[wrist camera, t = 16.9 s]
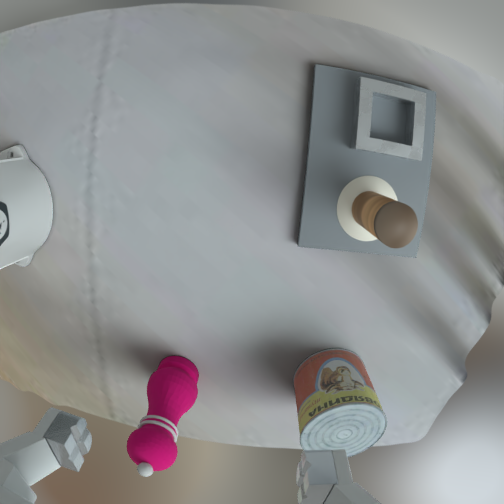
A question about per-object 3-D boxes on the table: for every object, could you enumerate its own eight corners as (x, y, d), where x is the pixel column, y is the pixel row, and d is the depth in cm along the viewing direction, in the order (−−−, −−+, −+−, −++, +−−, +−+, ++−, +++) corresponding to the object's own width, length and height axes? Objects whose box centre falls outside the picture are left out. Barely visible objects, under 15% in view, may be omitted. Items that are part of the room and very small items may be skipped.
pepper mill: (147, 366, 46) (100, 463, 27) (178, 344, 44) (136, 449, 25) (179, 395, 48) (149, 495, 28) (211, 376, 46) (189, 484, 27)
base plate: (297, 244, 40) (298, 247, 38) (314, 66, 33) (315, 63, 32) (412, 255, 40) (416, 258, 38) (431, 93, 33) (436, 92, 32)
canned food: (368, 343, 44) (394, 396, 32) (361, 398, 47) (379, 451, 36) (292, 352, 44) (300, 410, 33) (293, 407, 48) (299, 463, 36)
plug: (349, 225, 37) (373, 246, 29) (353, 189, 36) (380, 200, 27) (382, 228, 37) (413, 250, 29) (387, 193, 36) (420, 205, 27)
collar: (350, 148, 35) (355, 148, 32) (354, 80, 32) (360, 76, 30) (413, 160, 35) (421, 161, 32) (417, 95, 32) (426, 93, 30)
